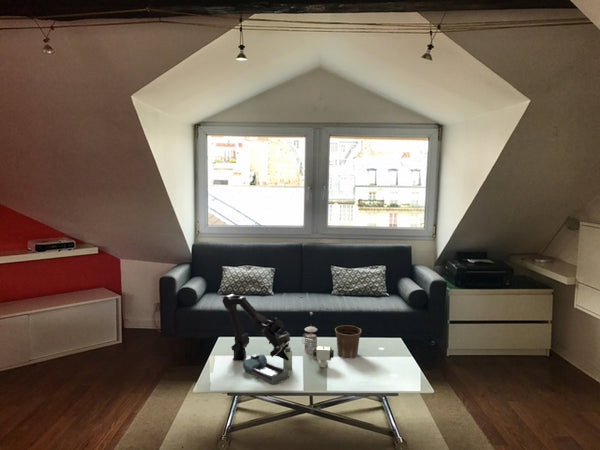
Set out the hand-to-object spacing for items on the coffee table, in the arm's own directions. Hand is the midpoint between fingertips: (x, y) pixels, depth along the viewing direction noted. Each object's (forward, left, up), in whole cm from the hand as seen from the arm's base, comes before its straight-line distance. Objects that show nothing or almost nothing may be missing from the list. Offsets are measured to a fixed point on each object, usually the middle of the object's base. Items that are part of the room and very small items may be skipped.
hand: (290, 358), depth 251 cm
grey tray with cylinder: (-11, -11, -7) cm, 16 cm away
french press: (+3, +29, -7) cm, 30 cm away
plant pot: (+27, +31, -7) cm, 41 cm away
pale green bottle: (-1, 0, -7) cm, 7 cm away
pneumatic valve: (+17, +11, -7) cm, 21 cm away
